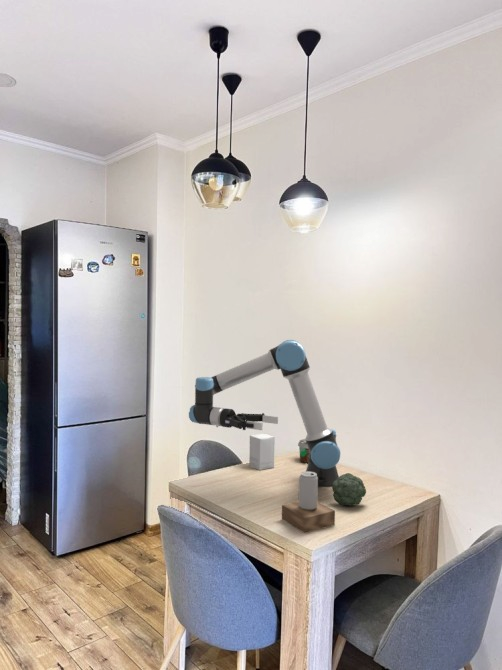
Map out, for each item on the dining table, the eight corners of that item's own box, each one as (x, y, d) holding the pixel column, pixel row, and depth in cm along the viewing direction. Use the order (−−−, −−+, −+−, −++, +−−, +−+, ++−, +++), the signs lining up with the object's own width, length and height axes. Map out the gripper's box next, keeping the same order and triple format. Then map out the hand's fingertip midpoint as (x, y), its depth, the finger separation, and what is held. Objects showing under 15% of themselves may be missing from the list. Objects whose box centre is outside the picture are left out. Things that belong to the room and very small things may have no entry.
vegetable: (367, 492, 192) (373, 486, 178) (347, 516, 189) (351, 513, 175) (343, 470, 196) (347, 464, 183) (323, 494, 193) (326, 489, 179)
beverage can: (316, 512, 163) (317, 477, 163) (297, 510, 164) (298, 475, 164) (317, 505, 169) (318, 471, 169) (299, 503, 170) (300, 470, 170)
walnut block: (310, 512, 176) (311, 498, 175) (334, 525, 165) (334, 510, 164) (281, 519, 169) (282, 505, 169) (304, 533, 158) (305, 518, 158)
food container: (296, 457, 248) (297, 438, 247) (308, 457, 247) (309, 438, 247) (298, 464, 235) (298, 444, 235) (311, 464, 235) (311, 444, 235)
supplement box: (274, 467, 229) (275, 436, 229) (259, 470, 224) (260, 438, 224) (263, 463, 237) (264, 432, 236) (248, 465, 232) (249, 435, 231)
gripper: (238, 421, 207) (283, 427, 197) (206, 432, 186) (254, 439, 175) (238, 404, 207) (283, 409, 197) (206, 413, 185) (255, 419, 175)
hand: (270, 423), depth 186 cm, fingers open, 13 cm apart
